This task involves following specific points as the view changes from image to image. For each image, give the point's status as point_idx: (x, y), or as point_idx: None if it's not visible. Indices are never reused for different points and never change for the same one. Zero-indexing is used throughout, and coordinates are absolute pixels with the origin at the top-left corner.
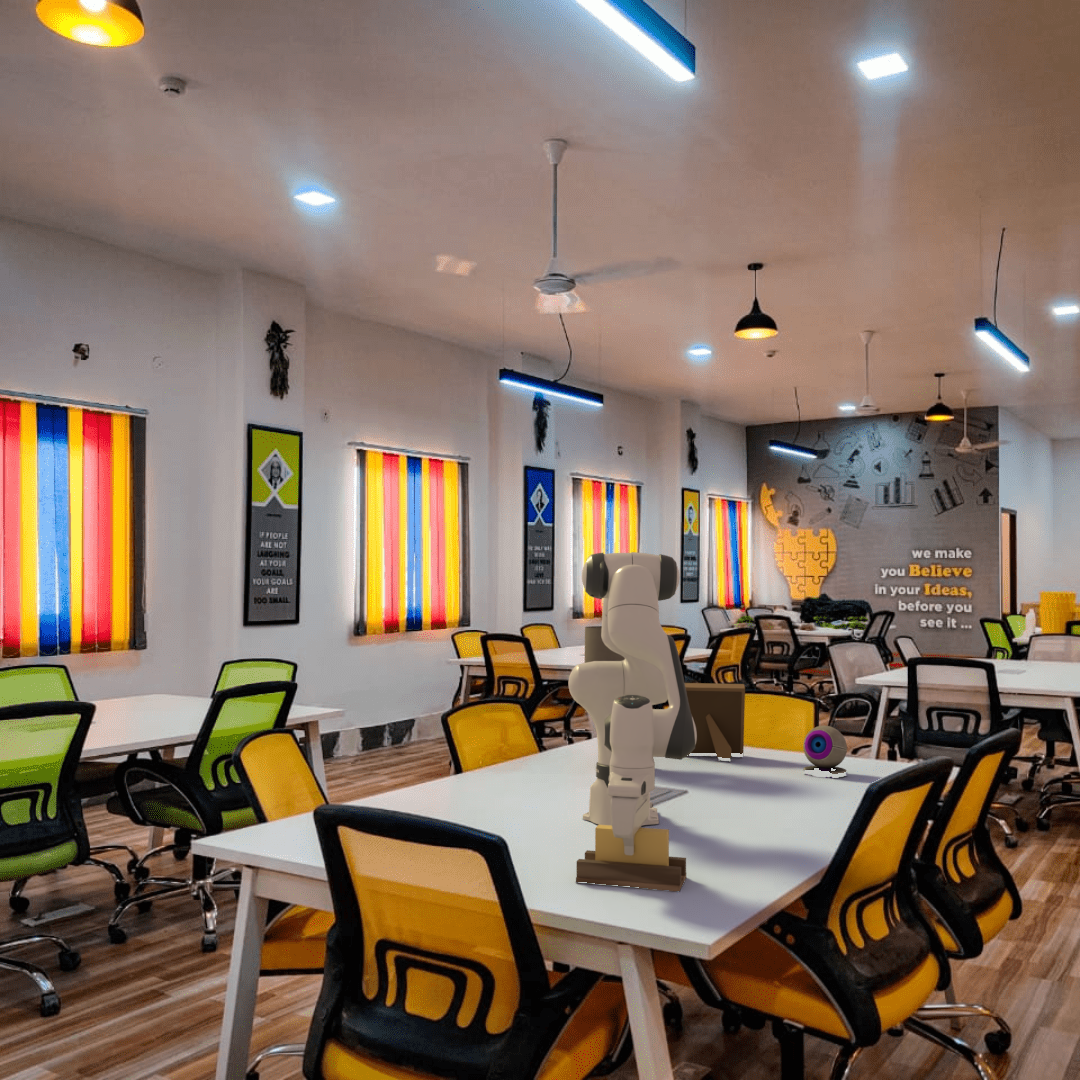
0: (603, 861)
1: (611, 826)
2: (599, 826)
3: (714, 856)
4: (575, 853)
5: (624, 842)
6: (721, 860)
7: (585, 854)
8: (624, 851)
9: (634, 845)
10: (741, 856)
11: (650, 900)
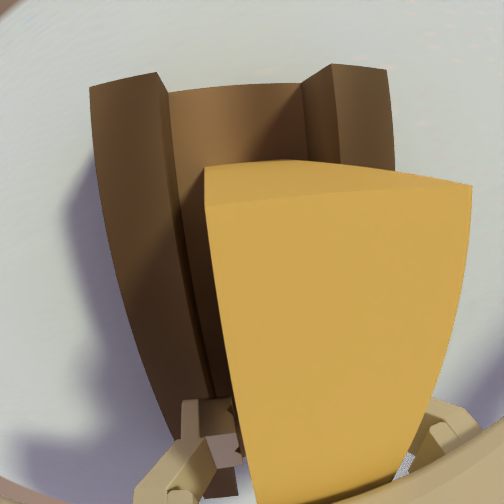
0: (158, 248)
1: (397, 390)
2: (368, 242)
3: (493, 377)
4: (488, 42)
5: (161, 463)
6: (470, 400)
7: (327, 70)
8: (183, 409)
9: (231, 464)
10: (485, 407)
11: (75, 411)
